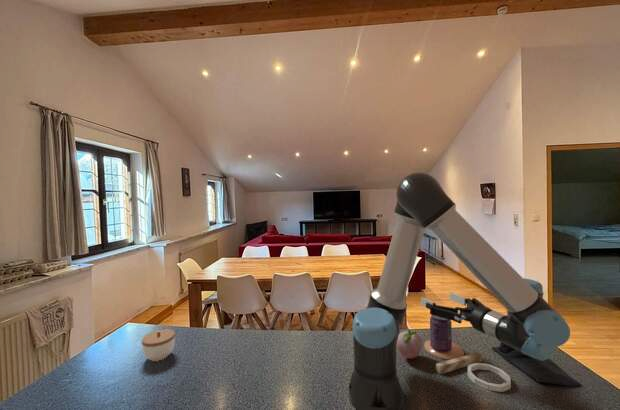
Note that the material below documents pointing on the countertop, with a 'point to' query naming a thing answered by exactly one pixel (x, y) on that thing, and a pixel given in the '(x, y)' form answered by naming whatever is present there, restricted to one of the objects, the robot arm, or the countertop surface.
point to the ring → (484, 384)
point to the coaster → (449, 355)
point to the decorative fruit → (409, 344)
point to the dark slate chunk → (536, 367)
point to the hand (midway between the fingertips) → (436, 298)
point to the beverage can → (440, 333)
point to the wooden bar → (458, 362)
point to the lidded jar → (158, 344)
